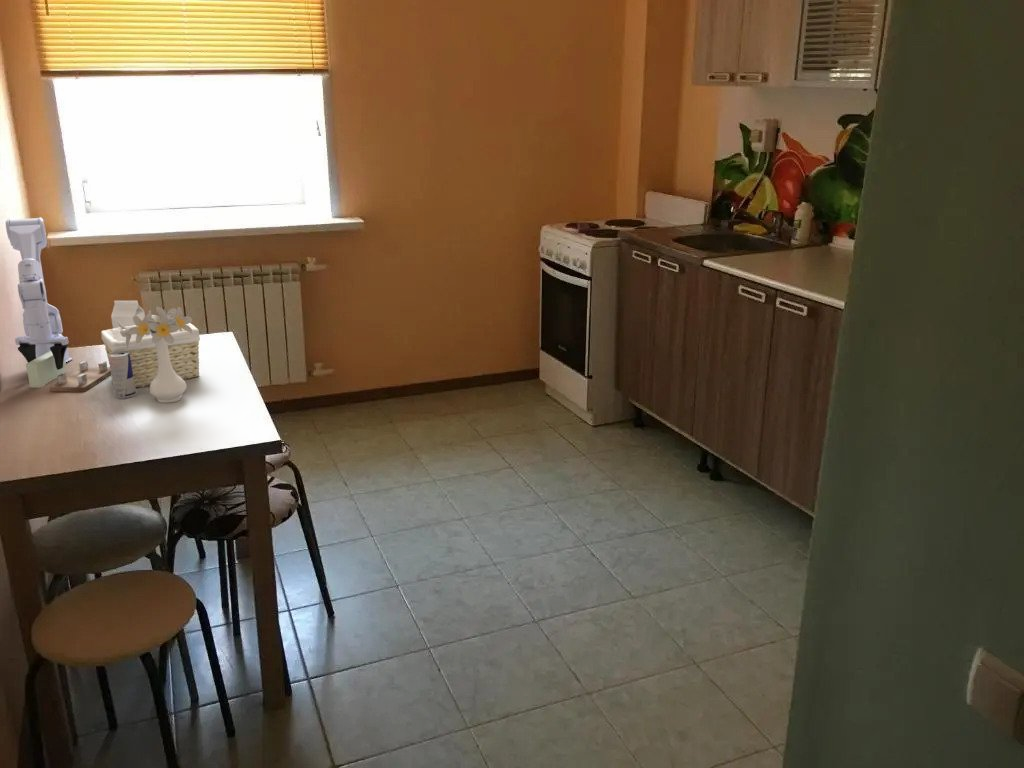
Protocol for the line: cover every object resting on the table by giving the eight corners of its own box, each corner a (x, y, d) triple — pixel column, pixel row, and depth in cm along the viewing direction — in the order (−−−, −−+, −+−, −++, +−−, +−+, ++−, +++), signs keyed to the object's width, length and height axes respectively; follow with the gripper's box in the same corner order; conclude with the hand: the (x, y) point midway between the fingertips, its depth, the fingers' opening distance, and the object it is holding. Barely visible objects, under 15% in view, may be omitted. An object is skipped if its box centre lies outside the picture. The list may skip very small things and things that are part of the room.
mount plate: (83, 370, 256) (83, 366, 256) (116, 370, 256) (115, 367, 255) (50, 391, 239) (49, 387, 239) (85, 391, 239) (84, 387, 238)
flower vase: (125, 400, 232) (111, 310, 224) (195, 386, 242) (183, 300, 234) (136, 414, 222) (121, 321, 214) (209, 400, 232) (197, 310, 223)
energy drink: (140, 392, 238) (133, 351, 234) (130, 399, 233) (123, 357, 229) (121, 392, 238) (114, 350, 234) (111, 398, 233) (104, 356, 229)
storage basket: (191, 363, 262) (184, 316, 258) (207, 377, 250) (200, 328, 245) (107, 378, 250) (98, 329, 245) (119, 394, 237) (110, 342, 232)
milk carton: (142, 364, 262) (132, 303, 255) (118, 364, 262) (108, 303, 256) (151, 357, 268) (142, 297, 262) (128, 357, 269) (119, 298, 262)
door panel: (57, 372, 256) (53, 349, 253) (67, 372, 256) (63, 349, 253) (30, 387, 243) (25, 364, 240) (40, 387, 242) (36, 364, 240)
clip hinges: (84, 368, 254) (83, 360, 253) (107, 369, 254) (106, 361, 253) (58, 384, 241) (57, 376, 240) (82, 385, 240) (81, 376, 240)
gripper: (4, 326, 240) (14, 372, 244) (55, 326, 239) (64, 372, 244) (19, 319, 247) (28, 364, 251) (68, 320, 246) (77, 365, 250)
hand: (47, 368), depth 248 cm, fingers open, 7 cm apart
